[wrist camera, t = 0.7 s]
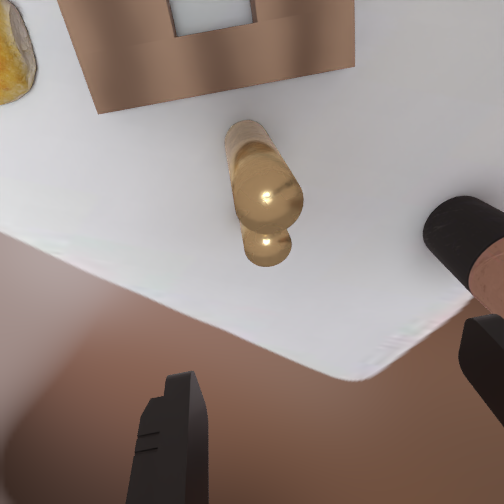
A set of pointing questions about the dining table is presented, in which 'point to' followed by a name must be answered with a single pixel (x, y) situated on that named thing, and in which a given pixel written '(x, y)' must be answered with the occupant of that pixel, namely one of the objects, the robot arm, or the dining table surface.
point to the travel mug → (470, 247)
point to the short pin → (266, 246)
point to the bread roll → (14, 55)
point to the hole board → (202, 48)
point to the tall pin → (261, 180)
